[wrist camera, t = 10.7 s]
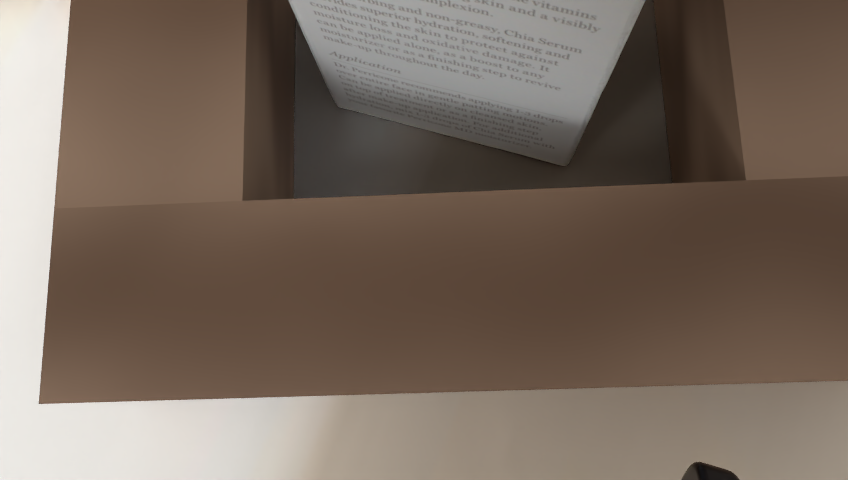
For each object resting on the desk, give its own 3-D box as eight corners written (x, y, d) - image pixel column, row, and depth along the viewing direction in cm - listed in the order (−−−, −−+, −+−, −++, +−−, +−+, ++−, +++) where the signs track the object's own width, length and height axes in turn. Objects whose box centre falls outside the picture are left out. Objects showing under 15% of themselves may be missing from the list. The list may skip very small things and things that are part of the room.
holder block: (854, 378, 15) (988, 376, 12) (140, 398, 16) (39, 404, 12) (762, -236, 19) (843, -399, 15) (171, -197, 19) (98, -344, 15)
